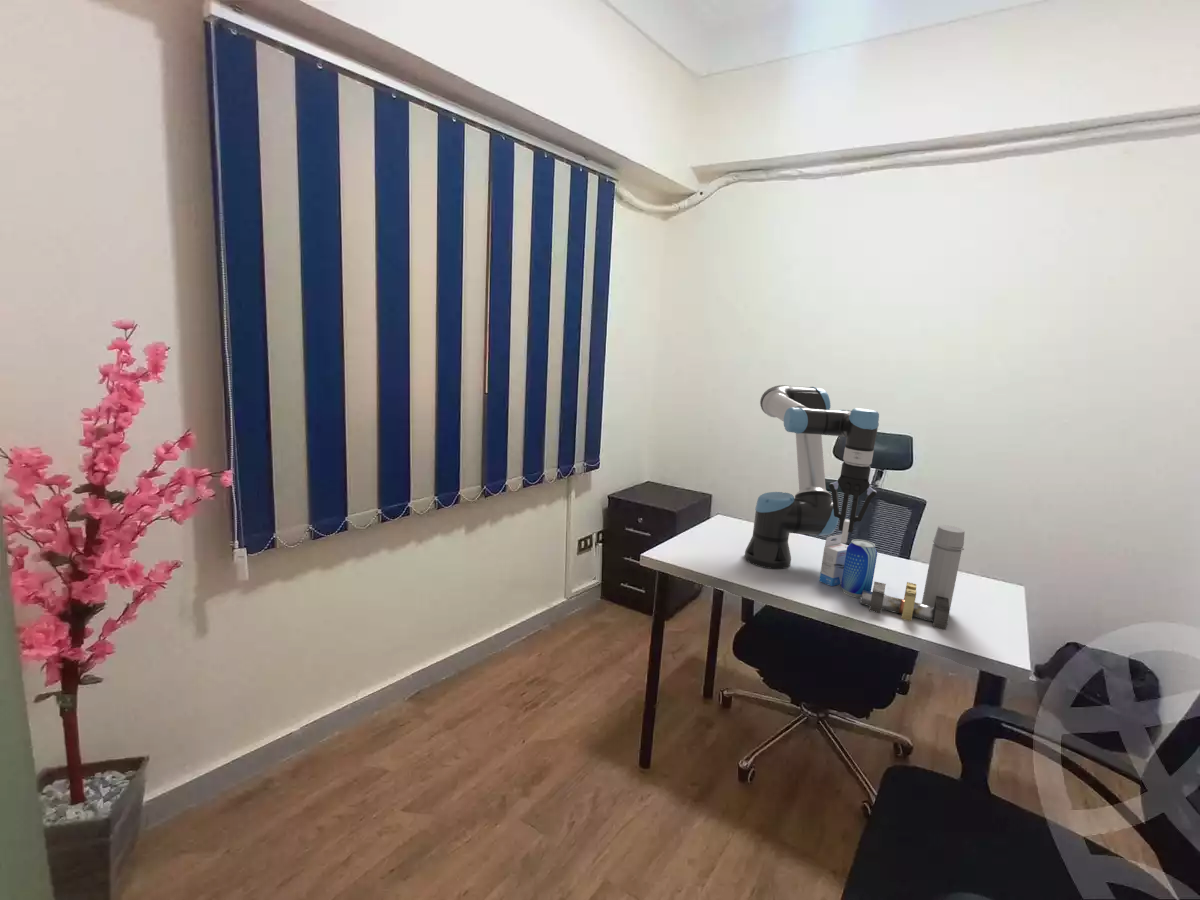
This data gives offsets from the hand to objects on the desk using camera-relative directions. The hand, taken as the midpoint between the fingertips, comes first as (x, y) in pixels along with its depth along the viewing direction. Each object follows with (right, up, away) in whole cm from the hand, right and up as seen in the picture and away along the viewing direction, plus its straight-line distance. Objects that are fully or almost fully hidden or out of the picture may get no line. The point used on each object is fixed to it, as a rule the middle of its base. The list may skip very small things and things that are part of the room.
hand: (843, 541), depth 174 cm
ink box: (+3, -15, +14) cm, 21 cm away
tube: (+15, -20, -5) cm, 25 cm away
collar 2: (+23, -21, -9) cm, 32 cm away
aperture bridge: (+16, -20, -6) cm, 26 cm away
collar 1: (+8, -19, -2) cm, 20 cm away
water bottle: (+26, -20, -2) cm, 33 cm away
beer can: (+6, -17, +7) cm, 19 cm away
